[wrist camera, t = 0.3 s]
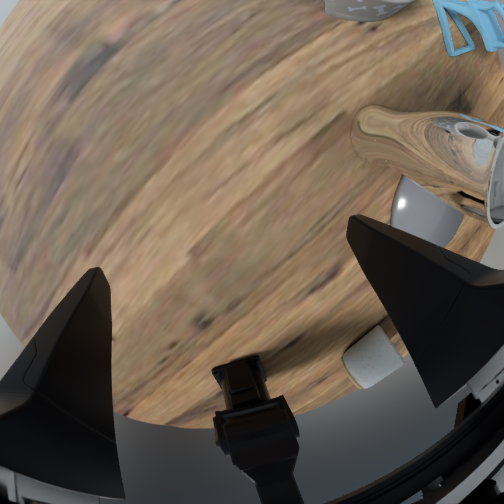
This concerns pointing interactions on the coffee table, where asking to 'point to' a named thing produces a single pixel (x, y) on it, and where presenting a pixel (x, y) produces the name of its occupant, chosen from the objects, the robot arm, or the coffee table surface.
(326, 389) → the coffee table surface
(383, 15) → the dog bowl
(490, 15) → the chair
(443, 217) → the coaster board
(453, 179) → the chrome tumbler cup
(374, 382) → the ceramic mug
